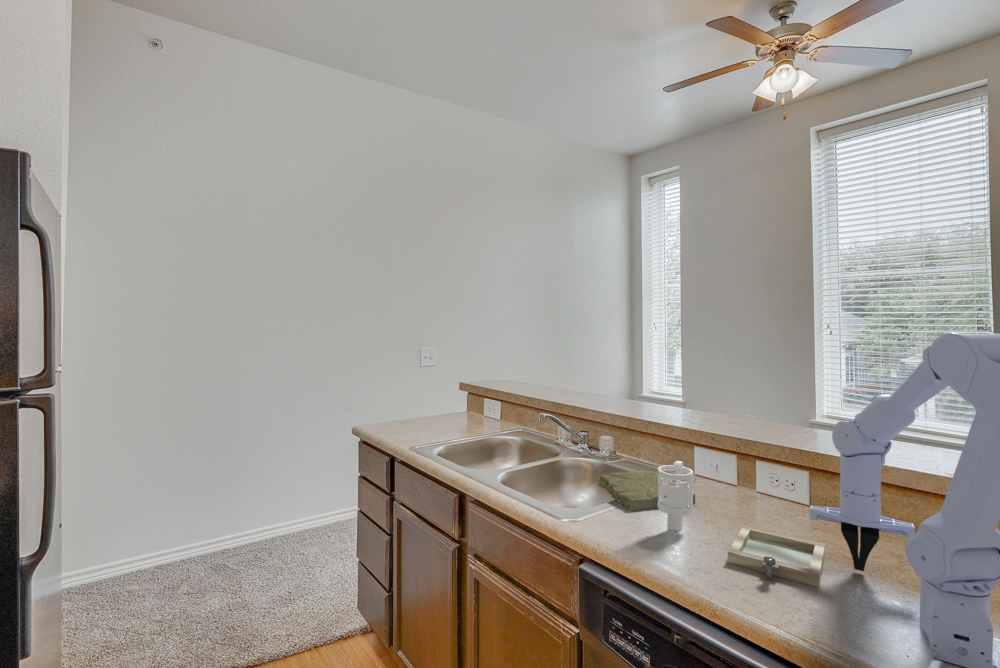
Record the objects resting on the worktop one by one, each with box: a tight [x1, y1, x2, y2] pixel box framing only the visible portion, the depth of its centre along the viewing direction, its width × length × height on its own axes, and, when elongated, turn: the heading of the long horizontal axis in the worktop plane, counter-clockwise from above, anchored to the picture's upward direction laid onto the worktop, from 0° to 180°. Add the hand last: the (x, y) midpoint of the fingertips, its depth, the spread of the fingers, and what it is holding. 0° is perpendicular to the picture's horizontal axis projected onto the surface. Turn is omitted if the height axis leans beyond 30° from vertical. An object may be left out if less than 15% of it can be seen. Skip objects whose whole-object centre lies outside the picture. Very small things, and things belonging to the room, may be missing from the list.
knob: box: [763, 557, 776, 582], centre depth 83 cm, size 2×2×5 cm
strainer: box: [657, 460, 694, 532], centre depth 104 cm, size 7×7×15 cm
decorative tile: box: [597, 470, 696, 512], centre depth 129 cm, size 19×20×4 cm
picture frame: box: [727, 525, 826, 588], centre depth 90 cm, size 15×14×2 cm
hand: (858, 567), depth 85 cm, fingers closed
